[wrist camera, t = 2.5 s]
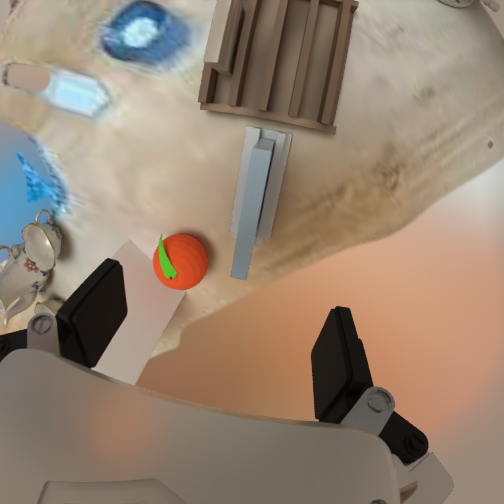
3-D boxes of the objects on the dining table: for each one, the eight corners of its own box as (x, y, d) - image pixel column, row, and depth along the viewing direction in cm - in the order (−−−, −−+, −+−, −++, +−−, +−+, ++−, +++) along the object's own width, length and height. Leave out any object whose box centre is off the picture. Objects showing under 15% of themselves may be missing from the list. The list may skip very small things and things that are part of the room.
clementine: (153, 226, 35) (129, 251, 29) (198, 211, 33) (179, 234, 27) (177, 275, 38) (160, 306, 32) (221, 264, 37) (209, 296, 31)
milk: (145, 324, 44) (82, 451, 21) (96, 280, 41) (8, 395, 18) (186, 291, 40) (115, 453, 17) (129, 238, 36) (10, 375, 13)
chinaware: (87, 325, 50) (56, 384, 35) (32, 303, 47) (-2, 352, 33) (74, 205, 36) (9, 257, 22) (12, 191, 34) (-48, 231, 20)
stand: (291, 134, 28) (293, 135, 26) (269, 237, 34) (268, 247, 32) (247, 125, 28) (244, 126, 26) (230, 229, 34) (226, 238, 32)
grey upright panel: (274, 139, 28) (271, 151, 18) (256, 229, 33) (246, 280, 24) (261, 137, 28) (252, 147, 18) (245, 227, 33) (230, 277, 24)
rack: (352, 9, 20) (374, -20, 12) (329, 132, 27) (348, 138, 20) (232, -12, 20) (216, -46, 12) (206, 110, 27) (180, 108, 20)
